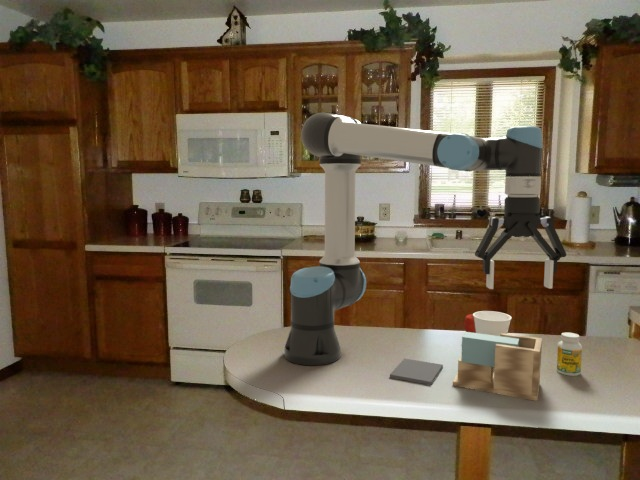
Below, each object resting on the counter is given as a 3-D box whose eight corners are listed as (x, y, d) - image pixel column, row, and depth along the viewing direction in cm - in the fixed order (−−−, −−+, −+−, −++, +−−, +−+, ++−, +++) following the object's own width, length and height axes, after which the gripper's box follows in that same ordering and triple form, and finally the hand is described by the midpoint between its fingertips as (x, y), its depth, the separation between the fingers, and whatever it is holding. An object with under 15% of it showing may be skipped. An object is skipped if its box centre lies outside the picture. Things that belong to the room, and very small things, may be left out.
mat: (389, 377, 120) (389, 374, 120) (404, 361, 131) (404, 358, 131) (431, 385, 116) (431, 381, 116) (442, 367, 126) (442, 364, 126)
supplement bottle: (578, 369, 125) (580, 332, 124) (582, 377, 120) (585, 339, 119) (554, 367, 127) (557, 330, 126) (558, 375, 122) (560, 336, 121)
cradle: (452, 385, 115) (454, 339, 114) (460, 370, 124) (462, 327, 123) (537, 400, 107) (539, 351, 106) (539, 383, 116) (542, 338, 115)
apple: (489, 339, 149) (490, 314, 148) (480, 344, 144) (481, 319, 143) (470, 334, 153) (470, 311, 152) (460, 339, 149) (461, 314, 148)
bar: (461, 361, 117) (462, 336, 116) (464, 355, 121) (465, 331, 120) (516, 370, 111) (517, 344, 111) (517, 363, 115) (519, 338, 115)
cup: (512, 363, 130) (514, 321, 128) (473, 360, 132) (474, 319, 130) (506, 350, 139) (508, 311, 138) (469, 347, 141) (471, 309, 140)
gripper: (472, 197, 110) (470, 291, 112) (585, 196, 110) (580, 290, 112) (462, 196, 117) (460, 284, 120) (568, 195, 117) (564, 283, 120)
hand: (518, 287), depth 116 cm, fingers open, 13 cm apart
